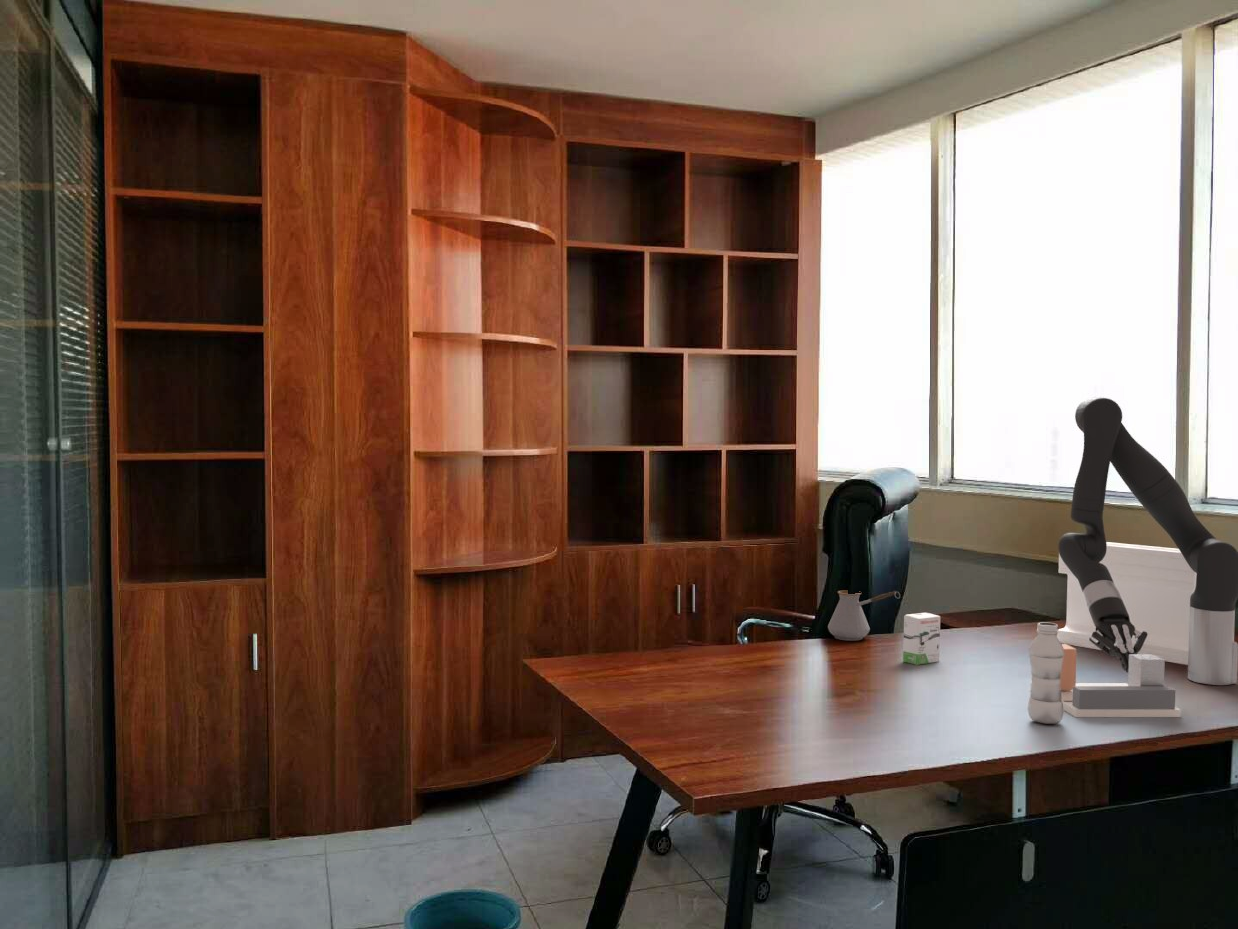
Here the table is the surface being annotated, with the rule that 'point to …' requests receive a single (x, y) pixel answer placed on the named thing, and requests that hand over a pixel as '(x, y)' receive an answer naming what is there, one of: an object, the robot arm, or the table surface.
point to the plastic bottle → (1046, 675)
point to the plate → (1113, 711)
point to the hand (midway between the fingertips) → (1132, 670)
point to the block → (1139, 599)
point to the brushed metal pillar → (1145, 670)
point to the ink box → (921, 638)
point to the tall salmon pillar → (1068, 668)
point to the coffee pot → (851, 616)
